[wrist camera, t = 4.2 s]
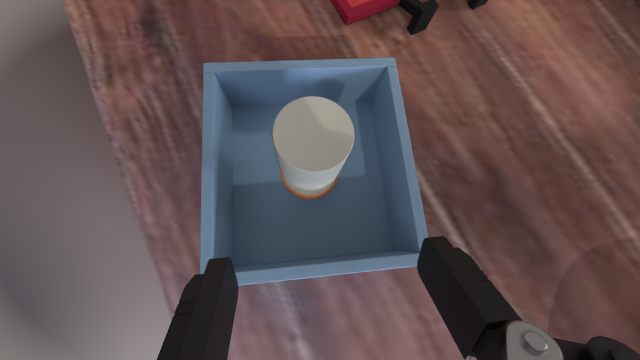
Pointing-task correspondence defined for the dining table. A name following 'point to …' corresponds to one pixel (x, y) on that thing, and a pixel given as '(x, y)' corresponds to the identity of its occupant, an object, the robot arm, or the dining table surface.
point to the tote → (278, 202)
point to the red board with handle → (360, 3)
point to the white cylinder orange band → (312, 145)
